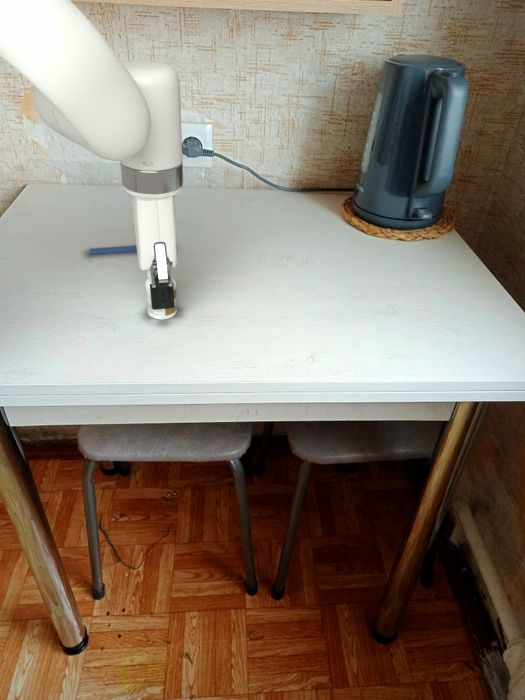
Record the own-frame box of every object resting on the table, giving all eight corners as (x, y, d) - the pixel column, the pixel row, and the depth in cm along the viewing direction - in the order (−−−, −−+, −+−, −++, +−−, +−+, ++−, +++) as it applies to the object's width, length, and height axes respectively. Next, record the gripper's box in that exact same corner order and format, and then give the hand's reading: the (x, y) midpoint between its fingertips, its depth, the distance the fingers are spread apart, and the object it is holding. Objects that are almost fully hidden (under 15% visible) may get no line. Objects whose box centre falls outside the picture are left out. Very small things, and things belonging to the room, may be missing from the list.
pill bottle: (174, 321, 75) (172, 276, 70) (144, 319, 75) (140, 273, 70) (179, 305, 78) (177, 260, 73) (151, 302, 78) (147, 258, 73)
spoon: (89, 259, 88) (89, 254, 87) (89, 247, 91) (89, 242, 90) (172, 253, 91) (172, 248, 90) (169, 242, 94) (169, 237, 94)
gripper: (119, 152, 69) (132, 270, 80) (124, 204, 56) (139, 335, 68) (174, 152, 71) (179, 267, 82) (192, 202, 58) (195, 329, 70)
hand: (161, 296), depth 75 cm, fingers closed on pill bottle, 4 cm apart
